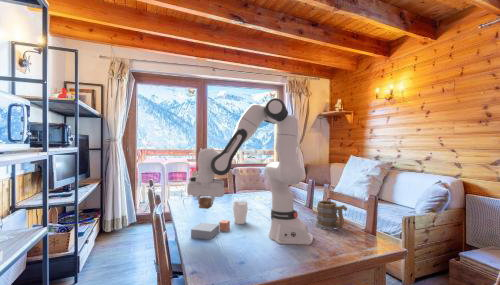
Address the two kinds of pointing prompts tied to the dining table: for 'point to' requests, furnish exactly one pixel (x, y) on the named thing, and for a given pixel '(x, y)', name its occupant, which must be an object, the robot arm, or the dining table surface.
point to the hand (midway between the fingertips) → (205, 204)
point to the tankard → (329, 215)
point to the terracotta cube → (224, 225)
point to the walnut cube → (204, 202)
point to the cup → (240, 212)
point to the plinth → (205, 230)
